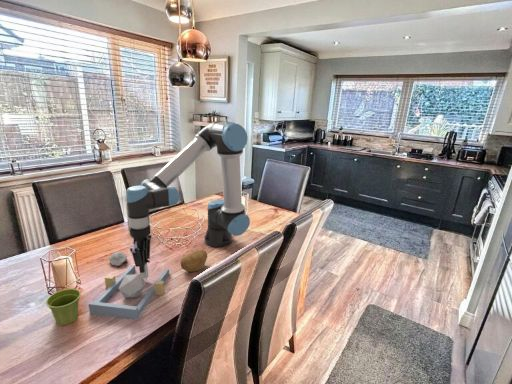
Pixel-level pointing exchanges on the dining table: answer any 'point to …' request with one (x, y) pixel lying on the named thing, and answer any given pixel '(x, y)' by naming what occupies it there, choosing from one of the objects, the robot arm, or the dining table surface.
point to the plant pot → (64, 305)
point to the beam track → (124, 310)
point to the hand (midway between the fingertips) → (144, 277)
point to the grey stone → (118, 258)
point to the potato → (194, 261)
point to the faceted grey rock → (132, 285)
